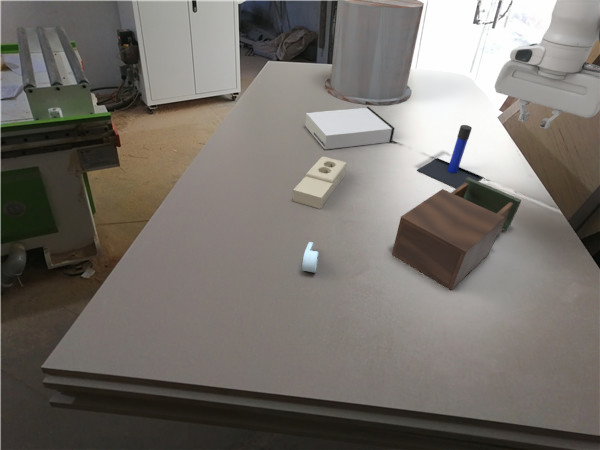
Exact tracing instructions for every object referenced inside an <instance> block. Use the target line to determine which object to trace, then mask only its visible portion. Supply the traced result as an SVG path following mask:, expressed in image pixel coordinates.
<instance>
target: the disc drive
mask: <svg viewBox="0 0 600 450" xmlns="http://www.w3.org/2000/svg"><path fill="white" fill-rule="evenodd" d="M304 122H305V124H304V127H305V128H306V129H307V130H308V131H309V133H310V134H311V135H312V136H313V137H314V139H315V140H316V141H317V142H318V143H319V144H320V146H321V147H322V148H323V150H332V149H333V150H334V149H341V148H350V147H357V146H367V145H377V144H383V143H384V144H385V143H389V144H391V143H392V142H393V137H394V133H395V127H394V126H393V125H392V124H391V123H389V122H388V121H387V120H385V118H383V117H382V116H380V115H379V114H378V113H376V111H374V110H373V109H372V108H371V107H370V106H366V107H360V108H349V109H348V108H347V109H338V110H325V111H312V112H305V121H304Z"/></svg>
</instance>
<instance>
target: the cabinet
mask: <svg viewBox="0 0 600 450" xmlns="http://www.w3.org/2000/svg"><path fill="white" fill-rule="evenodd" d="M503 220H504V217H502V216H500V215H498V214H496V213H494V212H491V211H489V210H487V209H485V208H483V207H481V206H478V205H476V204H474V203H472V202H470V201H468V200H465V199H463V198H461V197H459V196H457V195H454V194H452V193H451V192H450V191H447V190H446V189H444V188H442V189H440V190H439V191H437V192H436V193H434V194H433V195H431V196H430V197H428V198H427V199H425V200H423V201H422V202H420V203H419V204H417V205H416V206H415V207H413V208H412V209H410V210H409V211H407V212H406V213H403V215H401V216H400V219H399V223H398V227H397V230H396V231H397V232H396V234H395V235H396V236H395V239H394V244H393V247H392V251H391V255H392V256H394V257H395V258H397V259H399V260H400V261H402V262H403V263H405V264H407V265H409V266H410V267H412V268H414V269H415V270H417V271H418V270H419V271H418V272H420V273H422V274H423V275H425V276H426V277H428V278H430V279H432V280H433V281H435V282H437V283H438V282H439V283H438V284H440V285H442V287H444V288H446V287H447V288H446V289H448V288H449V289H448V290H450V289H451V290H450V291H452V290H454V288H456V286H457V285H459V283H461V282H462V281H463V280H464V279H465V278H466V277H467V276H468V275H469V274H470V273H471V272H472V271H473V270H474V269H475V268H476V267H477V266H478V265H479V264H480V263H481V262H482V261H484V259H485V258H486V257H487V256H488V255H489V254H490V251H491V250H492V248H493V247H492V246H493V245H494V242H495V241H496V238H497V235H498V234H499V233H498V231H499V229H500V226H501V224H502V222H503ZM497 233H498V234H497ZM471 270H472V271H471ZM470 271H471V272H470ZM469 272H470V273H469ZM468 273H469V274H468ZM467 274H468V275H467ZM466 275H467V276H466ZM465 276H466V277H465ZM464 277H465V278H464Z"/></svg>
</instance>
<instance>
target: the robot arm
mask: <svg viewBox="0 0 600 450" xmlns="http://www.w3.org/2000/svg"><path fill="white" fill-rule="evenodd" d="M597 41H598V42H599V43H600V0H556V1H555V4H554V7H553V9H552V12H551V18H550V24H549V26H548V27H547V30H546V31H545V32H544V34H543V35H542V38H541V40H540V43H539V42H538V43H530V44H523V45H520V46H517V47H515V48H513V49H512V50H511V52H510V53H509V59H510V60H508V61H506V62H505V63H504V64H503V65H502V68H501V70H500V71H499V74H498V76H497V78H496V81H495V83H494V90H495V92H496V93H497V94H500V95H505V96H508V97H512V98H514V99H518V100H519V101H518V103H517V104H518V109H519V116H518V118H517V120H518V121H519V122H523V123H526V122H527V121H528V120H529V117H530V115H531V112H528V111H527V105H528V104H529V103H532V104H534V105H535V104H536V105H539V106H543V107H545V108H549V109H552V111H551V114H552V115H551V116H550V117H549V118H548V117H544V118H543V119H542V120H541V122H540V125H539V128H541V129H545V130H548V129H549V128H550V126H551V125H552V122H553V121H554V120H555V119H556V118H558V117H559V116H560V115H561V114H563V113H567V114H571V115H574V116H578V117H581V118H585V119H590V118H593V117H595V116H596V115H597V114H598V113H599V112H600V66H599V65H597V64H593V63H589V62H587V61H588V59H589V56H590V55H591V52H592V50H593V48H594V45H595V43H596V42H597Z"/></svg>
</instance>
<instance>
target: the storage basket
mask: <svg viewBox="0 0 600 450" xmlns="http://www.w3.org/2000/svg"><path fill="white" fill-rule="evenodd" d="M424 5H425V3H424V2H422V1H420V0H337V7H336V8H337V9H336V18H335V28H334V29H335V30H334V38H333V39H334V40H333V51H332V62H331V71H330V77H328V78H327V79H326V80H325V82H324V90H325V91H326V92H327V93H328V94H329V95H331V96H332V97H334V98H337V99H338V100H342V101H344V102H349V103H353V104H357V105H358V104H359V105H364V106H391V105H392V106H393V105H399V104H401V103H405V102H407V101H408V100H409V99H410V98H411V95H412V88H411V87H410V86H409V85H408V83H409V78H410V73H411V67H412V63H413V58H414V54H415V49H416V45H417V44H416V43H417V40H418V35H419V30H420V24H421V20H422V14H423V12H424V11H423V10H424Z"/></svg>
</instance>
